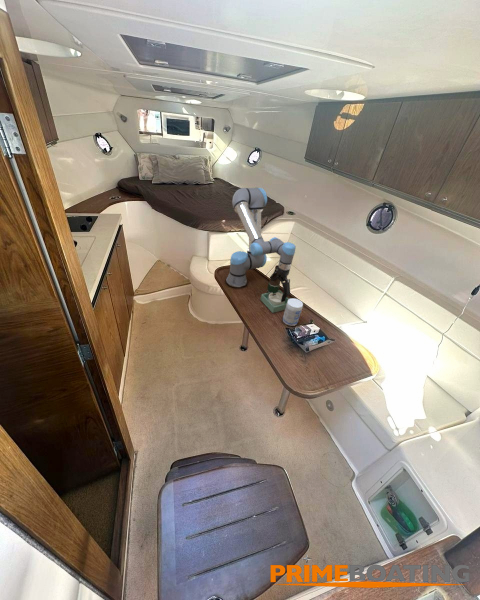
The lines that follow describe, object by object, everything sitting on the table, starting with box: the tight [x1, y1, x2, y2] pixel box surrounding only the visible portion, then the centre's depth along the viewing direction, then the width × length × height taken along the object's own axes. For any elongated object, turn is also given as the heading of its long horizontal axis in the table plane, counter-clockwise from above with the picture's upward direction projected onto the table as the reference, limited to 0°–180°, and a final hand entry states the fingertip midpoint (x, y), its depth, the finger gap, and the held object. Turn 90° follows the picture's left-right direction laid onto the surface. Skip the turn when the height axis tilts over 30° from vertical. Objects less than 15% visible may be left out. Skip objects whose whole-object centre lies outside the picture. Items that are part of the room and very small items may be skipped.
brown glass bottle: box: [266, 264, 281, 296], centre depth 169 cm, size 8×8×24 cm
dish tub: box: [259, 289, 290, 314], centre depth 168 cm, size 15×15×5 cm
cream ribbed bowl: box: [268, 292, 285, 307], centre depth 168 cm, size 11×11×5 cm
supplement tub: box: [282, 297, 304, 327], centre depth 152 cm, size 10×10×15 cm
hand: (277, 295), depth 166 cm, fingers open, 13 cm apart
